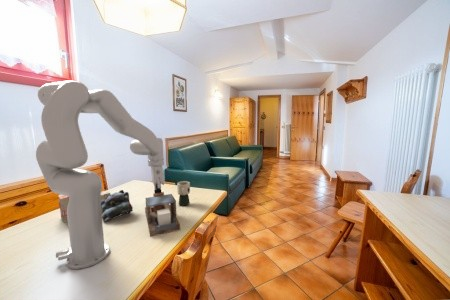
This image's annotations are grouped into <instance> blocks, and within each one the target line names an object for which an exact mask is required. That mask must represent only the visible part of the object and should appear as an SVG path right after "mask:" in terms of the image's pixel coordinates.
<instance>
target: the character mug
mask: <svg viewBox="0 0 450 300" xmlns="http://www.w3.org/2000/svg"><path fill="white" fill-rule="evenodd" d="M176 184H177V185H176V186H177V195H179V197H178V198H179V199H178V205H180V206H188V205H190V197H189V194H190V193H191V182H190V181H187V180H183V181H182V180H181V181H178V182H177V183H176Z"/></svg>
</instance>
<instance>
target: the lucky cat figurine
mask: <svg viewBox="0 0 450 300" xmlns="http://www.w3.org/2000/svg"><path fill="white" fill-rule="evenodd" d="M129 193H130V192H128V191H124V190H123V189H121V190H119V191H118V192H113V193H110V195H107V197H106V199H104V200H102V201H101V204H102V210H103V211H102V212H103V213H101V215H102V221H103V222H107V221H109V220H112V219H115V218H118V217H120V216H122V215H125V214H129V213H131V212H133V211H134V210H133V205H132V204H131V202H130V195H129Z"/></svg>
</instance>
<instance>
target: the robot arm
mask: <svg viewBox="0 0 450 300" xmlns="http://www.w3.org/2000/svg"><path fill="white" fill-rule="evenodd" d="M37 97H38V100H39V102H40V103H41V104H42V105H43V106H44V107H43V108H42V111H41V116H40V117H41V125H42V126H41V127H42V129H43V132H44V136H45V140H43V141H41V142H40V143H39V144H38V146H37V147H36V151H35V158H36V162H37V164H38V166H39V169H40V171H41V174H42V176H43V178H44V181H45V182H46V184H47V186H48V188H49V189H50V190H51V192H54V193H55V194H58V195H64V196H68V197H69V203H68V207H67V220H68V221H67V227H68V234H69V236H68V237H69V242H70V243H69V244H70V247H69V248H67V249H63V250H58V251H56V252H55V258H56V259H57V260H58V261H62V260H66V266H67V268H69V269H71V270H72V269H73V270H81V269H82V270H83V269H86V268H89V267H92V266H95V265H97V264H99V263H100V262H102V261H103V260H104V259H105V258H107V256H109V253H110V251H111V250H110V249H111V248H110V246H109V245H108V244H107V243H105V239H104V238H105V237H104V229H103V228H104V227H103V219H102V211H101V201H100V198H101V192H102V189H103V182H102V179H101V176H100V175H98V173H96V172H94V171H92V170H89V169H85V168H81V167H83V166H84V165H85V164H86V163H88V160H89V159H88V158H89V155H88V150H87V147H86V144H85V141H84V138H83V136H82V132H81V128H80V125H79V117H80V114H98V115H100V117H102V118H103V120H104V121H105V122H106V123H107V124H108V125H109V126H110V128H112V129H113V130H114V131H115V132H116V133H118V134H119V135H122V136H124V137H125V136H126V137H128V138H131V139H133V140H132V141H131V142H130V145H129V149H130V151H131V153H133V154H134V155H138V156H147V163H148V164H147V165H148V167H150V173H151V180H152V181H151V182H152V184H153V186H154V192H153V193H160V192H162V186H164V185H165V179H164V168H163V166H164V165H165V160H164V159H165V157H164V142H163V139H162V137H161V138H160V137H157V136H156V135H155V133H154V132H153V131H152V130H151V129H150V128H148V127H147V126H145V125H144V124H143V123H141V122H139V121H138V120H136V119H134V118H133V117H132V116H131V114H130V113H129V112H128V111H127V109H126V108H125V107H124V106H123V104H122V103H121V101H119V99H118V98H117V96H115V94H114V93H113V92H111V91H110V90H107V89H93V90H89V89H88V87H87V85H85V84H84V83H82V82H80V81H78V80H77V81H76V80H63V81H57V82H51V83H50V82H49V83H45V84H43V85H42V86H40V87H39V89H38V90H37Z"/></svg>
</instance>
